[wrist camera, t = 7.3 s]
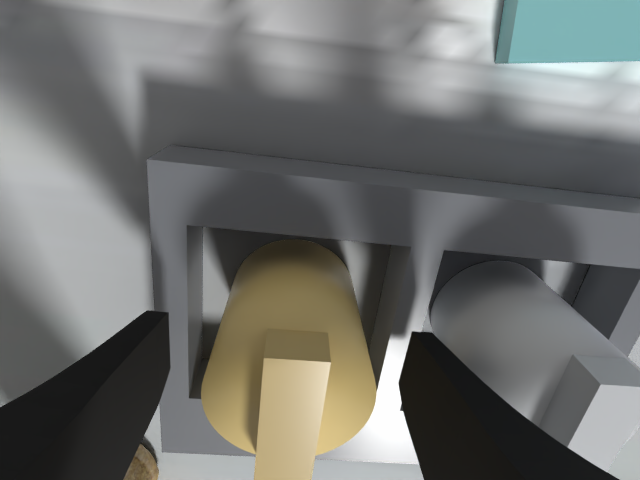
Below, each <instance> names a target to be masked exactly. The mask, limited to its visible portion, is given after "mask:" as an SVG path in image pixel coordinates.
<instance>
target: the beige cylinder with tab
mask: <svg viewBox="0 0 640 480" xmlns="http://www.w3.org/2000/svg"><path fill="white" fill-rule="evenodd" d="M201 400H202V405H203V409H204V412H205V414H206V417H207V419H208V420H209V422H210V423H211V425H212V426H213V428H214V429H215V430H216V431H217V432H218V433H219V434H220V435H221V436H222V437H223V438H224V439H226V440H227V441H229V442H230V443H231V444H233V445H235V446H237V447H238V448H240V449H242V450H245V451H247V452H250V453H252V454H256V461H255V473H254V480H311V479H312V473H313V467H314V461H315V456H316V455H319V454H323V453H326V452H328V451H331V450H333V449H335V448H337V447H339V446H341V445H343V444H344V443H346V442H347V441H349V440H350V439H351V438H353V437H354V436H355V435H356V434H357V433H358V432H359V431H360V430H361V429H362V428H363V427H364V426H365V424H366V423H367V421H368V420H369V418H370V416H371V414H372V412H373V409H374V406H375V402H376V383H375V378H374V373H373V369H372V365H371V361H370V356H369V352H368V348H367V344H366V339H365V335H364V331H363V327H362V322H361V318H360V314H359V310H358V305H357V301H356V297H355V293H354V288H353V284H352V280H351V277H350V274H349V271H348V270H347V268H346V266H345V265H344V263H343V262H342V261H341V259H340V258H339V257H338V256H337V255H336V254H334V253H333V252H332V251H330V250H329V249H327V248H325V247H324V246H321V245H319V244H317V243H314V242H310V241H306V240H299V239H287V240H280V241H275V242H272V243H269V244H266V245H264V246H262V247H260V248H258V249H257V250H255V251H254V252H253V253H251V254H250V255H249V256H248V257H247V258H246V259H245V260H244V261H243V263H242V264H241V266H240V267H239V269H238V271H237V273H236V275H235V279H234V282H233V285H232V288H231V292H230V295H229V298H228V301H227V304H226V308H225V311H224V314H223V317H222V320H221V324H220V327H219V330H218V333H217V336H216V340H215V343H214V346H213V349H212V352H211V356H210V359H209V362H208V365H207V368H206V372H205V375H204V378H203V382H202V387H201Z"/></svg>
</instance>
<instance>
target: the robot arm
mask: <svg viewBox="0 0 640 480" xmlns="http://www.w3.org/2000/svg"><path fill="white" fill-rule="evenodd" d="M170 368H171V365H170V338H169V312H159V311H146V312H144V313H143V314H141V315H140V316H139V317H137V318H136V319H135V320H133V321H132V322H131V323H129V324H128V325H127V326H126V327H124V328H123V329H122V330H120V331H119V332H118V333H116V334H115V335H114V336H112V337H111V338H110V339H108V340H107V341H106V342H104V343H103V344H101V345H100V346H99V347H97V348H96V349H95V350H93V351H92V352H90V353H89V354H88V355H86V356H85V357H83V358H82V359H80V360H79V361H77V362H76V363H74V364H73V365H71V366H70V367H68V368H67V369H65V370H64V371H62V372H61V373H59V374H58V375H56V376H54V377H53V378H51V379H50V380H48V381H46V382H45V383H43V384H41V385H40V386H38V387H36V388H35V389H33V390H31V391H29V392H27V393H26V394H24V395H22V396H20V397H19V398H17V399H15V400H13V401H11V402H9V403H8V404H6V405H4V406H2V407H0V480H123V479H124V477H125V475H126V473H127V471H128V469H129V466H130V464H131V462H132V460H133V458H134V456H135V454H136V451H137V449H138V447H139V445H140V443H141V441H142V439H143V437H144V434H145V432H146V430H147V428H148V426H149V424H150V422H151V419H152V417H153V415H154V413H155V411H156V409H157V406H158V404H159V402H160V399H161V396H162V393H163V390H164V387H165V384H166V381H167V378H168V375H169V372H170ZM398 384H399V390H400V396H401V402H402V407H403V412H404V417H405V420H406V423H407V427H408V430H409V433H410V436H411V440H412V443H413V446H414V449H415V452H416V455H417V459H418V462H419V465H420V468H421V471H422V474H423V477H424V480H619V479H617V478H616V477H614V476H612V475H610V474H609V473H607V472H605V471H604V470H602V469H601V468H599V467H597V466H596V465H594V464H592V463H591V462H589V461H588V460H586V459H584V458H583V457H581V456H580V455H578V454H577V453H575V452H574V451H572V450H571V449H569V448H568V447H566V446H565V445H563V444H562V443H560V442H559V441H557V440H556V439H554V438H553V437H551V436H550V435H549V434H547V433H546V432H545V431H543V430H542V429H540V428H539V427H538V426H536V425H535V424H534V423H532V422H531V421H530V420H528V419H527V418H526V417H524V416H523V415H522V414H521V413H519V412H518V411H517V410H516V409H514V408H513V407H512V406H511V405H510V404H508V403H507V402H506V401H505V400H504V399H502V398H501V397H500V396H499V395H498V394H497V393H495V392H494V391H493V390H492V389H491V388H490V387H489V386H488V385H486V384H485V383H484V382H483V381H482V380H481V379H480V378H479V377H478V376H477V375H476V374H474V373H473V372H472V371H471V370H470V369H469V368H468V367H467V366H466V365H465V364H464V363H463V362H462V361H461V360H460V359H459V358H458V357H457V356H456V355H455V354H454V353H453V352H452V351H451V350H450V349H449V348H447V347H446V346H445V345H444V344H443V343H442V342H441V341H440V340H439V339H438V338H437V337H436V336H435V335H434V334H433V333H430V332H417V331H412V333H411V337H410V341H409V344H408V348H407V352H406V356H405V359H404V363H403V367H402V371H401V375H400V378H399V382H398Z"/></svg>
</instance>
